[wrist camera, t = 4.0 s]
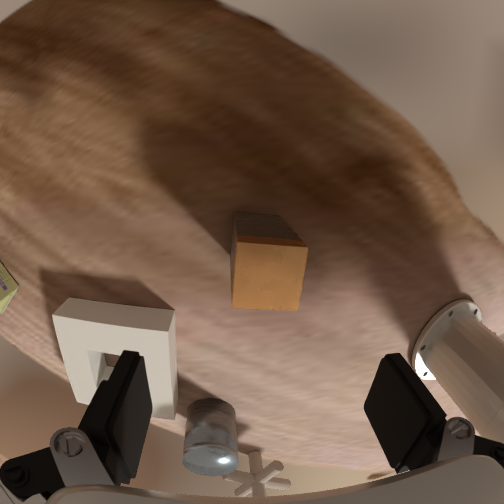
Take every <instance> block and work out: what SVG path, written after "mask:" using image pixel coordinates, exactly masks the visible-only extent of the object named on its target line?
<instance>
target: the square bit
mask: <svg viewBox="0 0 504 504" xmlns="http://www.w3.org/2000/svg"><path fill="white" fill-rule="evenodd" d="M307 254H308V247H307V246H306V244H305V243H304V242H303V241H302V240H301V239H300V238H299V237H298V236H297V234H296V233H295V232H294V231H293V230H292V229H291V228H290V227H289V226H288V225H287V223H286V222H285V221H284V220H283V219H282V218H281V217H280V216H277V215H267V214H255V213H244V212H234V217H233V229H232V240H231V252H230V266H231V298H232V308H247V309H267V310H293V311H298V306H299V301H300V295H301V290H302V284H303V278H304V272H305V266H306V260H307Z"/></svg>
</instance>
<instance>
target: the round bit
mask: <svg viewBox="0 0 504 504" xmlns="http://www.w3.org/2000/svg"><path fill="white" fill-rule="evenodd" d="M182 462H183V465H184V466H185V467H186V468H187V469H188V470H190V471H192V472H194V473H197V474H200V475H205V476H221V475H226V474H229V473H232V472H233V471H235V470H236V469H237V467H238V449H237V432H236V414H235V410H234V408H233V407H232V406H231V405H230V404H228V403H227V402H225V401H222V400H219V399H213V398H206V399H200V400H197V401H195V402H193V403H192V404H191V405H190V406H189V408H188V413H187V422H186V431H185V440H184V450H183V460H182Z"/></svg>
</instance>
